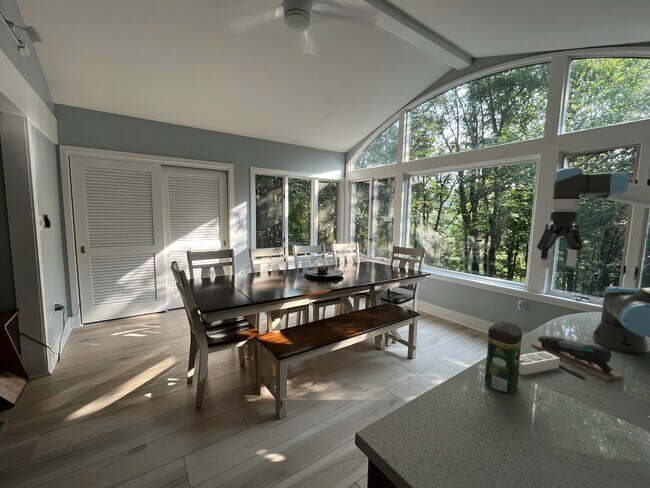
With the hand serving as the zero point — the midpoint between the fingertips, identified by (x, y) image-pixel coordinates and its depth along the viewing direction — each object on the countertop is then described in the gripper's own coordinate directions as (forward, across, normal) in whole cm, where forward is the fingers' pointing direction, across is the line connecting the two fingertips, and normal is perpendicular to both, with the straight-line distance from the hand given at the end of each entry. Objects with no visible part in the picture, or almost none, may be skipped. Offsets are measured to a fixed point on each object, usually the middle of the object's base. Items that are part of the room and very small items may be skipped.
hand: (557, 267), depth 109 cm
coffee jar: (+31, +42, +16) cm, 54 cm away
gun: (+30, +5, +11) cm, 33 cm away
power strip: (+31, +22, +15) cm, 41 cm away
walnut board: (+31, +5, +11) cm, 33 cm away
